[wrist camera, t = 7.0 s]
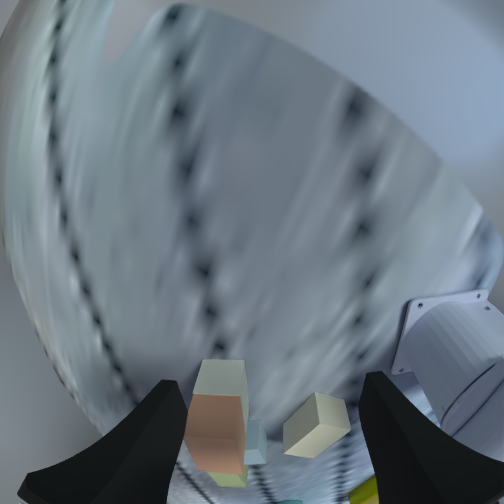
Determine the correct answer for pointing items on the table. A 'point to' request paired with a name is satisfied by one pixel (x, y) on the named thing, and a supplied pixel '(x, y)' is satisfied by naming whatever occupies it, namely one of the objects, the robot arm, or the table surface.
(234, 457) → the terracotta brick
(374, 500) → the element tile
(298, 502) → the cupcake
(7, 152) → the table surface
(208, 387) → the grey brick
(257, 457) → the blue brick
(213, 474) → the olive brick
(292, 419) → the cream brick
